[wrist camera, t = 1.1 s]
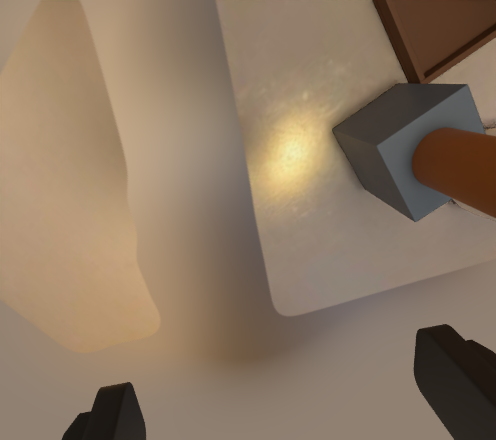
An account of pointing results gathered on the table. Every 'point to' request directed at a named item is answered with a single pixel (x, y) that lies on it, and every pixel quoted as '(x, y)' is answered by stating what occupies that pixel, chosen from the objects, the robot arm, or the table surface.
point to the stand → (404, 140)
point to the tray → (436, 33)
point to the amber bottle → (459, 166)
